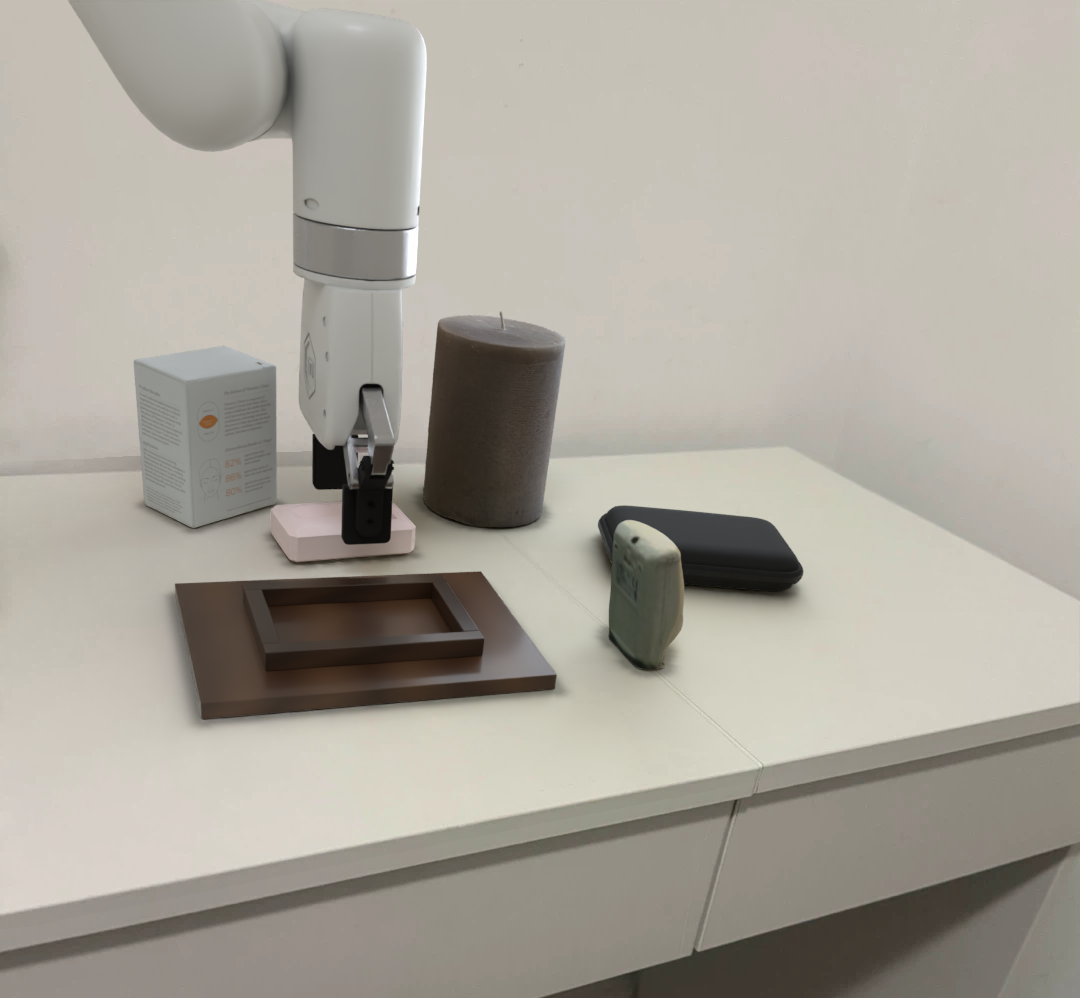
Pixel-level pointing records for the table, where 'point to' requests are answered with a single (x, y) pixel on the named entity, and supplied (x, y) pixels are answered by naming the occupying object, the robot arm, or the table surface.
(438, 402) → the pillar candle
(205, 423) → the small box
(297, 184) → the robot arm
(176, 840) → the table surface
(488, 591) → the backing plate
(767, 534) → the carrying case
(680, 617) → the grey-green rounded block
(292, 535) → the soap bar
